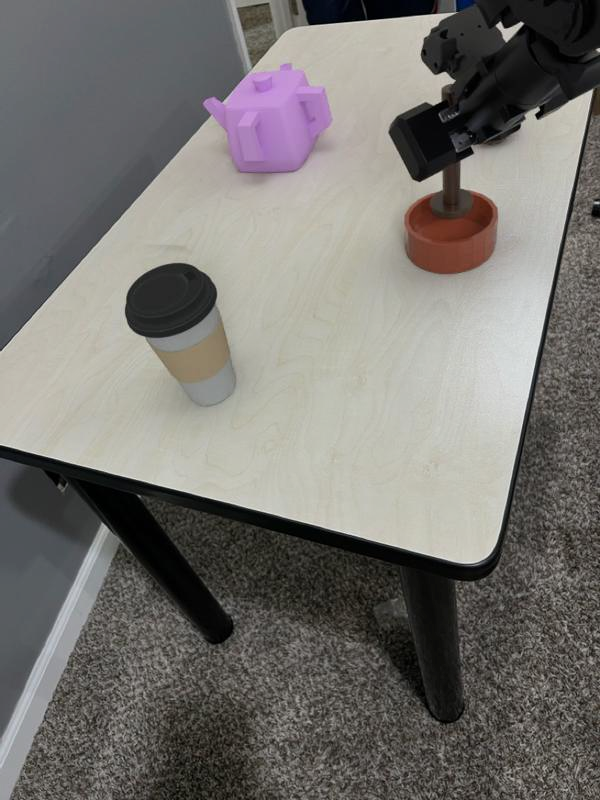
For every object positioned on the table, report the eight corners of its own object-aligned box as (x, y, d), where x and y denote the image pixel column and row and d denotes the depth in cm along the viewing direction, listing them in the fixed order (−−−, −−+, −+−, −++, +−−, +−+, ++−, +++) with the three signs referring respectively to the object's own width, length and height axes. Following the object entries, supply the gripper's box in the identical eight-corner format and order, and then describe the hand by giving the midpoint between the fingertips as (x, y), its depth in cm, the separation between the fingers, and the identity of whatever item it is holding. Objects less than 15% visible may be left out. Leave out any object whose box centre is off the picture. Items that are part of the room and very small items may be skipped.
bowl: (477, 210, 80) (478, 180, 77) (509, 260, 73) (512, 229, 70) (396, 232, 81) (393, 203, 77) (420, 283, 74) (419, 253, 70)
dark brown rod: (482, 203, 71) (487, 81, 60) (454, 224, 69) (454, 104, 58) (448, 190, 73) (448, 72, 63) (421, 211, 72) (416, 93, 61)
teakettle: (256, 191, 94) (235, 114, 85) (215, 152, 105) (192, 79, 95) (348, 148, 97) (337, 68, 88) (298, 114, 108) (284, 40, 98)
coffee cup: (265, 367, 70) (229, 266, 58) (222, 429, 65) (174, 332, 54) (201, 349, 74) (155, 251, 62) (156, 406, 69) (98, 311, 58)
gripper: (565, -54, 53) (476, 49, 68) (392, 26, 49) (339, 116, 64) (620, 63, 54) (520, 139, 69) (454, 149, 50) (388, 209, 65)
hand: (443, 148), depth 67 cm, fingers closed on dark brown rod
